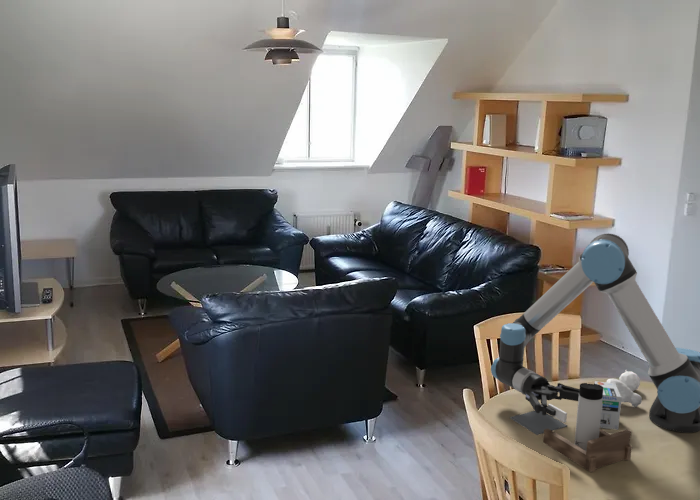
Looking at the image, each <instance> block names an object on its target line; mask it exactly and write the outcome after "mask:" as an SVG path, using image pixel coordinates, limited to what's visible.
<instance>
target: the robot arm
mask: <svg viewBox="0 0 700 500" xmlns="http://www.w3.org/2000/svg"><path fill="white" fill-rule="evenodd" d="M629 251H630V250H629V247H628V245H627V242H626V241H625V240H624V239H623V238H622V237H620V236H619V235H617V234H615V233H609V232H608V233H603V234H599V235H597V236H596V237H594V238H593V239H592V240H591V241H590V243H589V244H587V245H586V247H585V248H584V250H583V252H582V253H581V254H580V255H579V256H578V261H577V262H576V264H574V265H573V266H572V267H571V268H570V269H569V270H568V271H567V272H566V273H565V274H564V275H563V276H561V278H560V279H558V280H557V282H555V283H554V284H553V285H552V286H551V287H550V288H549V289H548V290H547V291H545V292H544V294H543V295H541V297H539V298H538V299H537V300H536V301H535V302H534V303H533V304H532V305H530V307H529V308H528V309H526V311H524V313H523V314H522V315H520V316H519V317H518V318H516V319H515V320H514V321H513V322H511V323H505V324H503V325H502V326H501V330H500V334H499V338H500V339H499V341H500V342H499V343H500V344H499V356H498V357H497V358H495V359H494V360H493V362H492V365H491V366H490V373H491V375H492V376H493V377H494V378H495V379H496V380H497V381H499V382H500V383H502V384H505V385H506V386H508V387H510V388H512V389H513V390H516V391H517V392H519V393H521V394H522V395H524V396H525V400H527V402H529V404H530V405H531V407H532V408H533V411H535V412H536V413H540V411H542V415H546V413H547V414H548V415H550V416H552V417H554V418H555V419H557V420H559V421H561V422H562V423H564V424H566V423H567V417H568V412H567V411H564V410H562V409H561V408H560V407H557V406H555V405H553V404H552V403H548V401H552V400H559V401H561V400H567V401H573V402H574V401H575V402H578V398H579V390H580V388H576V387H574V386H573V387H572V386H569V385H565V384H563V383H560V382H559V383H557V386H555V385H551V384H550V383H549V380H548V379H547V378H546V377H544V376H543V375H540V374H539V373H536V372H535V371H533V370H531V369H529V368H526V367H524V356H525V348H526V346H527V345H528V343H529V342H530V341H531V340H532V339H533V338H534V337H535V336H536V335H537V334H538V333H540V331H541V330H543V328H545V327H546V326H547V324H549V323H550V322H551V321H552V320H553V319H555V317H557V315H558V314H560V313H561V312H562V311H563V310H564V309H565V308H567V306H569V305H570V304H572V302H573V301H574V300H575V299H576V298H577V297H579V295H581V294H582V293H583V292H584V291H585V290H586V289H587V288H589V287H590V286H591V285H592V284H593V283H594V285H595V286H596V288H597V290H598V291H599V292H600V293H602V294H606V295H607V296H608V298H609V299H610V301H611V304H613V306H614V308H615V310H616V312H617V313H618V314H619V317H620V318H621V320H622V321H623V323H624V326H626V328H627V330H628V332H629V333H630V335H631V337H632V339H633V340H634V341H635V344H636V345H637V346H638V348H639V350H640V352H641V353H642V355H643V357H644V358H645V361H646V362H647V364H648V365H649V368H648V371H647V375H648V376H649V377H650V380H651V381H652V383H653V384H654V385H653V386H655V388H656V390H657V392H656V393H657V395H656V397H655V399H654V400H653V402H652V405H651V406H650V409H649V414H648V418H649V420H650V421H651V422H652V423H653V424H655V425H657V426H659V427H660V428H663V429H665V430H669V431H672V432H676V433H678V432H679V433H688V434H689V433H697V432H700V352H699V351H697V350H693V349H691V348H690V349H689V348H683V347H675V345H674V343H673V341H672V339H671V338H670V336H669V334H668V333H667V331H666V330H665V328H664V326H663V324H662V323H661V321H660V320H659V318H658V316H657V315H656V313H655V311H654V310H653V307H652V306H651V304H650V303H649V301H648V299H647V298H646V296H645V294H644V293H643V291H642V289H641V287H640V286H639V284H638V282H637V281H636V278H637V274H638V272H637V270H636V268H635V267H634V265H633V263H632V261H631V260H630V258H629V253H630V252H629ZM602 405H603V403H602ZM601 412H602V410H601Z"/></svg>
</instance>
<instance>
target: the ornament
mask: <svg viewBox="0 0 700 500" xmlns="http://www.w3.org/2000/svg"><path fill="white" fill-rule="evenodd" d="M618 380H620V381H622V382H623V383H624V384H625V385H627V387H628V388H630V390H631V391H632V392H634V391H636V390H638V389H639V386H640V385H641V379H640V377H639V375H638V374H637V373H635V372H633V371H628V369H625V371H624V372H623V373H621V374H620V376H619V379H618Z"/></svg>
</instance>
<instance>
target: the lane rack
mask: <svg viewBox="0 0 700 500" xmlns="http://www.w3.org/2000/svg"><path fill="white" fill-rule="evenodd" d="M631 436H632V430H629V429H627V428H626V429H624V430H620V431H617V432H614V433H609V432H607V431H605V430H603V428H600V431H599V438H596V439H593V440H590V441H587V450H586V451H585V450H583V449H582V448H580V447H578V446H577V445H575V443H573V442H572V441H570V440H568V439H566V438H565V437H563V436H561V435H560V434H558V433H557V432H555V431H551V430H550V429H544V433H543V436H542V438H543V439H542V443H543V444H545V445H547V446H548V447H550V448H551V449H553V450H554V451H556V452H558V453H559V454H561V455H562V456H564V457H565V458H567V459H569V460H570V461H572V462H574V463H575V464H577V465H579V466H580V467H581V468H583V469H584V470H586V471H588V472H590V473H594V472H596V470H597V469H600V468H603V467H606V466H609V465H612V464H614V463H617V462H621V461H626V462H627V461H630V460H631V457H632V449H633V445H631V438H632V437H631Z"/></svg>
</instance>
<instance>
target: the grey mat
mask: <svg viewBox="0 0 700 500" xmlns="http://www.w3.org/2000/svg"><path fill="white" fill-rule="evenodd" d="M509 419H510V420H512V421H513V422H515V423H517V424H519V425H520V426H521V427H523V428H525V429H526V430H528V431H530V432H531V433H533V434H535V435H536V436H539V435H544V429H550V430H551V431H553V432H555V431H557V430H560V429H565V428H567V427H568V425H567V424H566V423H564V422H562V421H560V420H559V419H557V418H555V417H554V416H551V415H550V414H548V413H546V415H542V411H540V413H536V412H535V410H531V411H527V412H524V413H521V414H516V415H514V416H509Z"/></svg>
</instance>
